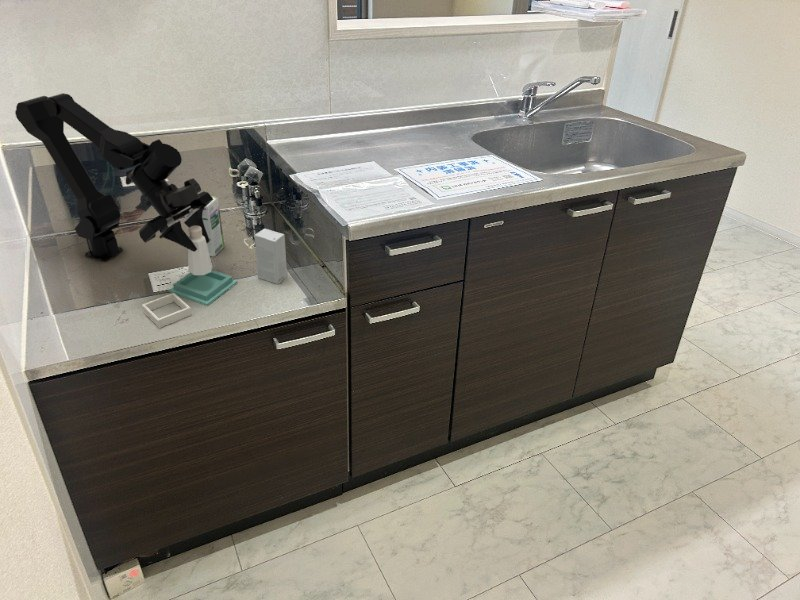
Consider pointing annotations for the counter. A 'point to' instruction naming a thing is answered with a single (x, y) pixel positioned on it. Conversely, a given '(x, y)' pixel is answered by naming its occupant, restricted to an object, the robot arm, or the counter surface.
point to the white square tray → (171, 317)
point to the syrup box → (213, 226)
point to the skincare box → (271, 255)
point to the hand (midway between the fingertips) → (202, 246)
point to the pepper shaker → (198, 253)
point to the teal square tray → (203, 286)
